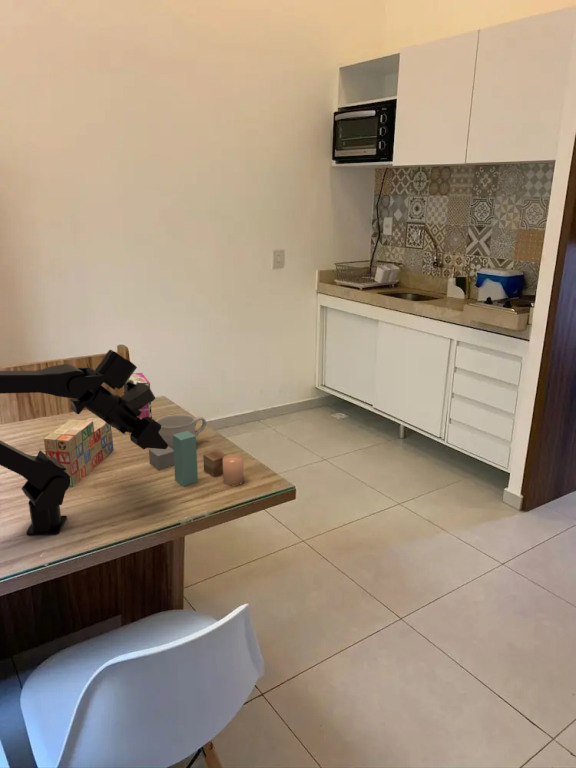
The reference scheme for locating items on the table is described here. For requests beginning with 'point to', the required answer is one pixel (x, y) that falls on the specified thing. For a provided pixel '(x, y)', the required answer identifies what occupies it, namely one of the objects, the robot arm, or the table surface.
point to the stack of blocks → (80, 446)
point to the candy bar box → (142, 379)
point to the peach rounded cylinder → (233, 469)
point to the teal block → (185, 458)
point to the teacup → (178, 426)
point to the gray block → (161, 457)
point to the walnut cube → (214, 463)
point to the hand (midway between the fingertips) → (157, 440)
